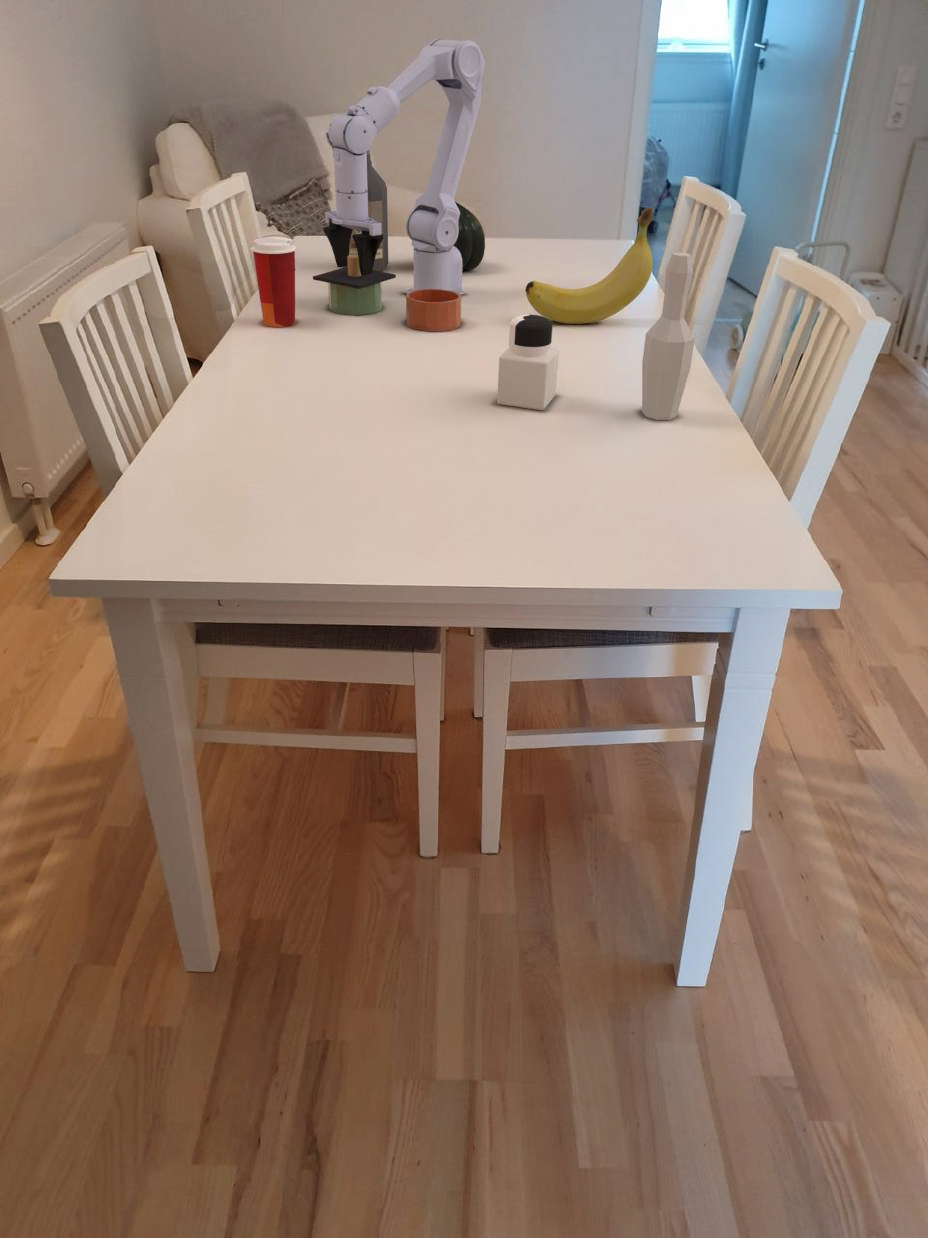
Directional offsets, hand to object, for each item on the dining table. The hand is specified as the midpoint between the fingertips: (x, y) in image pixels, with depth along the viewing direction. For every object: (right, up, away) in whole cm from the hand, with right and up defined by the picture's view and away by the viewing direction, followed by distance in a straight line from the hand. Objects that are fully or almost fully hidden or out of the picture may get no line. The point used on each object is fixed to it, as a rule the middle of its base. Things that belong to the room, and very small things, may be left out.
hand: (354, 270), depth 178 cm
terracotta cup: (+15, -11, -4) cm, 19 cm away
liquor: (-1, +12, +31) cm, 33 cm away
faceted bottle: (+49, -36, -40) cm, 72 cm away
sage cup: (0, -6, +4) cm, 7 cm away
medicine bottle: (+30, -33, -37) cm, 57 cm away
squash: (+17, +12, +33) cm, 39 cm away
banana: (+43, -10, -1) cm, 44 cm away
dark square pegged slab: (0, -1, +1) cm, 2 cm away
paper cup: (-13, -12, -6) cm, 18 cm away
